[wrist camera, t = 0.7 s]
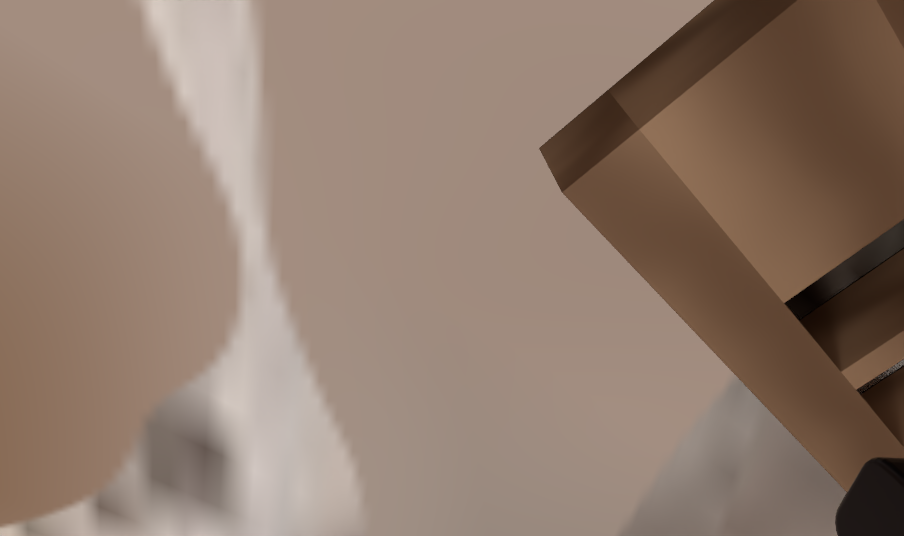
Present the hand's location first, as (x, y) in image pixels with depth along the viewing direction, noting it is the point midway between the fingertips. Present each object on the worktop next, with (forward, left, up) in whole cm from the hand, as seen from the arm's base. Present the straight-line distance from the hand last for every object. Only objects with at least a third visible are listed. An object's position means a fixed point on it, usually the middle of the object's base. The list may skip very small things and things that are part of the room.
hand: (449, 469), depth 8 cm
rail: (-8, -15, -14) cm, 22 cm away
